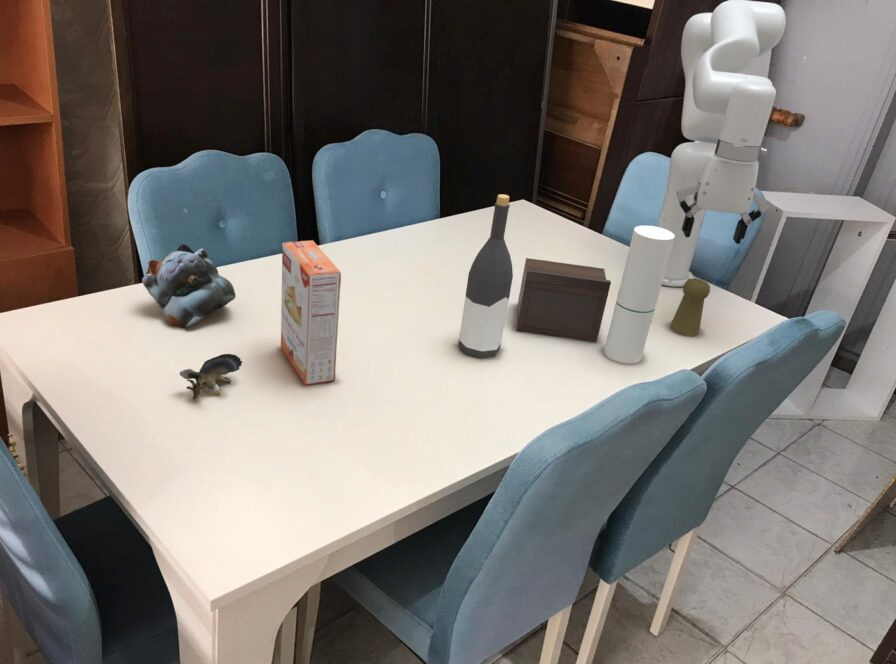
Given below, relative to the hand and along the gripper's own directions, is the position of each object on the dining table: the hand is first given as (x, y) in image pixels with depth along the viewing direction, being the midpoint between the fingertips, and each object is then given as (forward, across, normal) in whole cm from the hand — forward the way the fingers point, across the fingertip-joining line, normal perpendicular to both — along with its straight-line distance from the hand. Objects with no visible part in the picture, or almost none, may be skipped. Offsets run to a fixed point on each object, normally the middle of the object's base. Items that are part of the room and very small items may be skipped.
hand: (711, 238), depth 166 cm
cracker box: (+21, +72, +38) cm, 84 cm away
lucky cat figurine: (+21, +98, +25) cm, 103 cm away
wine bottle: (+21, +42, +22) cm, 52 cm away
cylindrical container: (+20, +14, +16) cm, 30 cm away
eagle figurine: (+21, +85, +51) cm, 101 cm away
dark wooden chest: (+20, +27, +6) cm, 34 cm away
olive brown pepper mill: (+20, 0, 0) cm, 20 cm away
